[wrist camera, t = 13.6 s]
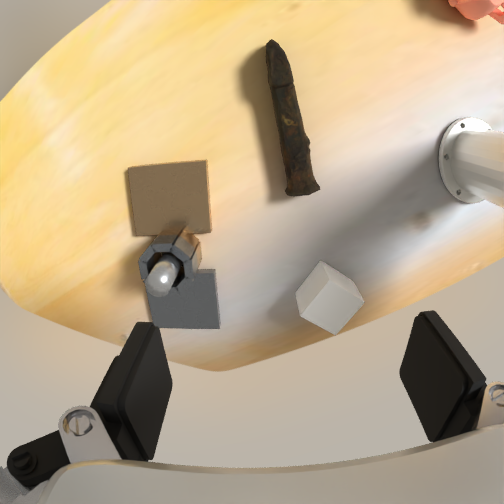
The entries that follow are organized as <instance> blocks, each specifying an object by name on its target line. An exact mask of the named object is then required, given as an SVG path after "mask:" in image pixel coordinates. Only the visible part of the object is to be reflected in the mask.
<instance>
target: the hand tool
mask: <svg viewBox="0 0 504 504" xmlns="http://www.w3.org/2000/svg"><path fill="white" fill-rule="evenodd" d="M266 63H267V66H268V82H269V84H270V89H271V93H272V99H273V104H274V110H275V115H276V121H277V126H278V131H279V136H280V144H281V151H282V156H283V161H284V165H285V171H286V175H287V181H288V186H287V188H286V190H285V192H286V194H287V195H289V196H302V195H310V194H312V193H314V192H316V191H318V190H320V186H319V185H318V184H317V182H316V180H315V178H314V176H313V172H312V166H311V160H310V149H309V145H310V141H309V139H308V137H307V136H306V134H305V131H304V127H303V122H302V117H301V113H300V109H299V105H298V101H297V96H296V91H295V86H294V84H293V76H292V71H291V68H290V64H289V62H288V59H287V56H286V54H285V52H284V50H283V49H282V48H281V47H280V46H279V44H278V43H277V42H275V41H274V40H272V39H271V40H270V41H269V42H268V43H267V44H266Z"/></svg>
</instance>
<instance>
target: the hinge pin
mask: <svg viewBox="0 0 504 504" xmlns="http://www.w3.org/2000/svg"><path fill="white" fill-rule="evenodd" d="M182 264H183V262H182V261H181V260H180V259H179V258H178V257H176V256H175V255H174V254H173V253H172V252H164V253H163V255H162V256H161V258H160V259H159V260H158V262H157V263H156V265H155V266H154V268H153V269H152V271H151V272H150V274H149V275H148V277H147V278H146V281H145V286H146V289H147V291H148V292H149V293H150V294H152V295H153V296H156V297H163V296H165V295H167V294H168V293H169V291H170V289H171V287H172V285H173V282H174V280H175V278H176V276H177V274H178V272H179V270H180V268H181V266H182Z"/></svg>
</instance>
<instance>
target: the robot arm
mask: <svg viewBox="0 0 504 504" xmlns="http://www.w3.org/2000/svg"><path fill="white" fill-rule="evenodd" d="M439 168H440V173H441V177H442V180H443V182H444V184H445V186H446V188H447V189H448V190H449V192H450V193H451V194H452V195H453V196H454V197H456V198H457V199H459V200H461V201H463V202H466V203H478V202H481V201H483V200H487V201H489V202H491V203H494V204H496V205H498V206H500V207H502V208H504V132H500V131H493V129H492V128H491V127H490V126H489V125H488V124H487V123H485V122H484V121H482V120H480V119H478V118H472V117H464V118H461V119H458V120H457V121H455V122H453V123H452V124H451V125H450V126H449V127H448V129H447V130H446V132H445V134H444V136H443V138H442V141H441V144H440V149H439ZM400 378H401V380H402V382H403V384H404V387H405V389H406V390H407V393H408V395H409V397H410V399H411V402H412V404H413V406H414V408H415V410H416V413H417V415H418V417H419V419H420V422H421V423H422V426H423V428H424V431H425V433H426V435H427V437H428V440H429V441H430V442H433V443H429V444H426V445H422V446H418V447H414V448H410V449H406V450H402V451H397V452H393V453H388V454H383V455H378V456H372V457H367V458H361V459H355V460H348V461H342V462H333V463H326V464H315V465H304V466H290V467H269V468H221V467H202V466H185V465H173V464H163V463H155V462H148V460H152V459H153V457H154V454H155V450H156V446H157V442H158V439H159V435H160V431H161V427H162V423H163V420H164V416H165V412H166V408H167V405H168V401H169V398H170V394H171V391H172V378H171V374H170V371H169V367H168V362H167V358H166V354H165V350H164V346H163V342H162V338H161V333H160V329H159V327H158V326H155V325H154V323H152V322H137V323H136V325H135V326H134V328H133V330H132V332H131V334H130V336H129V338H128V340H127V341H126V343H125V345H124V347H123V349H122V351H121V353H120V355H119V356H116V357H115V358H114V360H113V362H112V363H111V365H110V367H109V369H108V371H107V373H106V375H105V377H104V379H103V381H102V383H101V385H100V387H99V389H98V391H97V393H96V395H95V397H94V399H93V401H92V403H91V405H90V407H87V406H77V407H73V408H71V409H69V410H67V411H66V412H65V413H64V414H63V415H62V416H61V418H60V419H59V424H58V427H59V430H57V431H55V432H53V433H50V434H48V435H46V436H43V437H41V438H38V439H36V440H34V441H31V442H29V443H27V444H24V445H21V446H19V447H17V448H16V449H14V450H13V451H12V452H11V453H10V455H9V456H8V459H7V467H6V468H5V469H3V468H2V467H0V504H504V382H499V381H498V382H492V383H490V384H489V385H488V386H487V385H486V383H485V381H486V377H485V376H484V374H483V373H482V372H481V370H480V369H479V368H478V366H477V365H476V363H475V362H474V361H473V359H472V358H471V356H470V355H469V354H468V352H467V351H466V350H465V348H464V347H463V346H462V344H461V343H460V342H459V340H458V339H457V338H456V337H455V335H454V334H453V333H452V331H451V330H450V329H449V328H448V326H447V325H446V324H445V323H444V321H443V320H442V319H441V318H440V317H439V315H438V314H437V313H436V312H435V311H424V312H420V313H419V315H418V316H416V317H415V319H414V323H413V327H412V330H411V334H410V338H409V341H408V345H407V348H406V352H405V355H404V358H403V361H402V365H401V367H400Z"/></svg>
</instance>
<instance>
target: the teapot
mask: <svg viewBox="0 0 504 504" xmlns="http://www.w3.org/2000/svg"><path fill="white" fill-rule="evenodd" d="M448 2H449V4H450V5H451V6H452V7H456V8H457V10H458V11H459V12H460V13H461V14H462V15H463V16H464V17H465V18H467V19H470V20H477V19H480V18H482V17H484V16H486V15H490V16H491V17H492V18H494V19H495V20H497V21H498V22H499V23H501V24H504V12H501V11H500V10H499V9H497V8H498V7H499V6H500V5H501V6H502V7H503V8H504V0H448Z"/></svg>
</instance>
